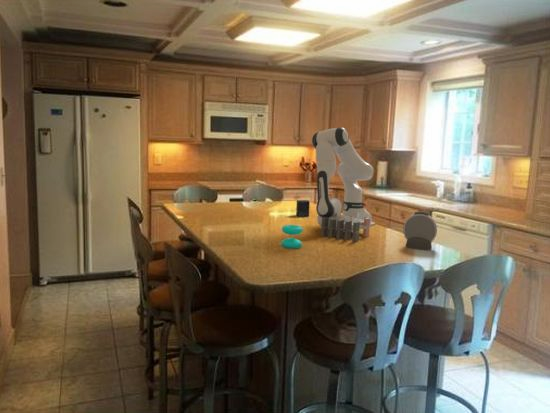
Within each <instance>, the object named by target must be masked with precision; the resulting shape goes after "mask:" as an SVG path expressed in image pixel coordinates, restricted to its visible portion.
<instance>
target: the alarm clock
mask: <svg viewBox="0 0 550 413" xmlns="http://www.w3.org/2000/svg"><path fill="white" fill-rule="evenodd" d="M402 230H403V231H402V232H403V235H404V238H405V239H406V243H405V247H404V248H406V249H412V250H419V251H432V247H433V246H432V242H433V241H434V240H435V239H436V237H437V233H438V225H437V222H436V220H435V219H434V218H433V217H432V216H431V215H429V213H428V212H425V211H420V210H419V211H415V212H414V213H413V214H411V215H410V216H409V217H408V218H407V219H406V220H405V222H404V223H403V227H402Z"/></svg>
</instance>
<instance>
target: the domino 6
mask: <svg viewBox="0 0 550 413" xmlns="http://www.w3.org/2000/svg"><path fill="white" fill-rule="evenodd" d="M364 225H365V226H367V227H366V229H362V231H363V232H362V237H363V238H367V237H369V236H370V228H371V227H370V218H365V219H364Z"/></svg>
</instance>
